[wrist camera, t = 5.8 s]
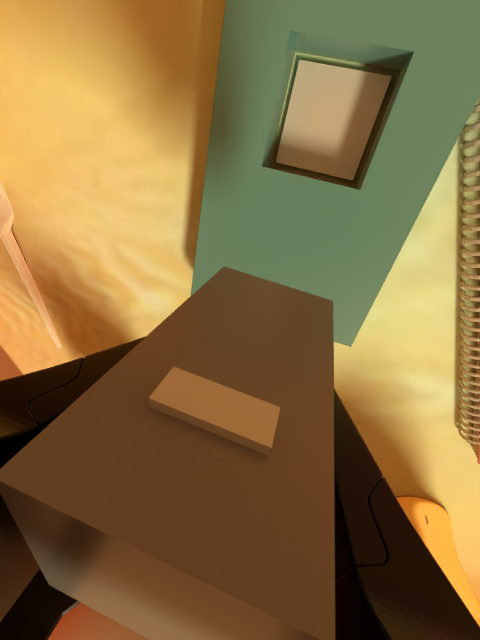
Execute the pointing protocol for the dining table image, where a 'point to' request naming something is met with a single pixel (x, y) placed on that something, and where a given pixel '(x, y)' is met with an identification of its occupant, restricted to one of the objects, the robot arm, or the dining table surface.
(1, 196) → the fork
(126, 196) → the dining table surface
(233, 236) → the green slotted board
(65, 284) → the dining table surface
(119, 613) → the block
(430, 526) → the beer glass
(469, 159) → the notebook
